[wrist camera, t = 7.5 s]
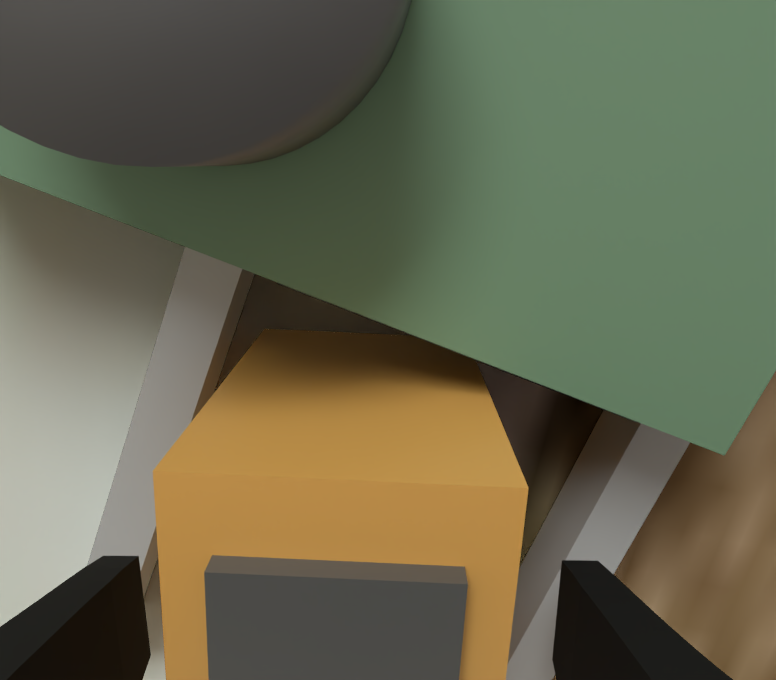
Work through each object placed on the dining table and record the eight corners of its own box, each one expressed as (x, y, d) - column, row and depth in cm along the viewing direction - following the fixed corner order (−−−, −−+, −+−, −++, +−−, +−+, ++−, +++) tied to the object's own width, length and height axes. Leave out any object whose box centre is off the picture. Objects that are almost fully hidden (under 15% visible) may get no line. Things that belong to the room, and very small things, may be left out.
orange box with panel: (466, 336, 12) (534, 503, 6) (438, 664, 15) (470, 1022, 8) (265, 327, 12) (141, 484, 6) (268, 657, 15) (178, 1009, 8)
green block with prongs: (864, 35, 11) (1416, -114, 5) (484, 718, 15) (543, 1071, 9) (24, -360, 9) (-577, -1211, 4) (-138, 513, 13) (-539, 778, 8)
